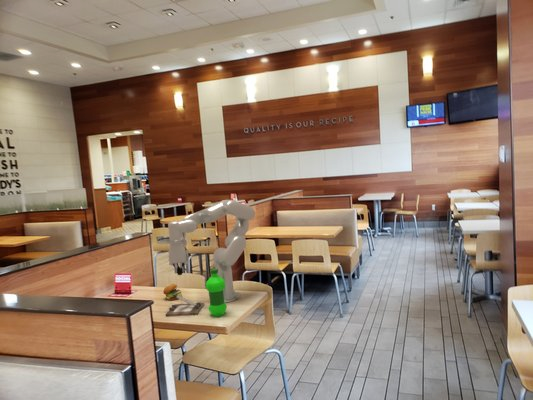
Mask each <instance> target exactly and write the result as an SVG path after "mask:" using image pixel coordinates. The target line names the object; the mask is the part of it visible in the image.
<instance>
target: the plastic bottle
mask: <svg viewBox="0 0 533 400" xmlns="http://www.w3.org/2000/svg"><path fill="white" fill-rule="evenodd" d="M209 272H210V275H211V276H210V277H209V278H208V279H207V281H206V282H205V289H206V291H207V292H208V297H209V306H208V311H209V313H210V314H212V315H213V316H214V317H221V316H223V315H224V314H225V312H226V311H227V307H228V306H227V303H225V302H224V291H223V289H224V287H225V281H224V279H222V278H221V277H219V276H218V274H217V273H218V269H215V268H211V269H210V270H209Z"/></svg>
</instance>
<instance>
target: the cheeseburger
mask: <svg viewBox="0 0 533 400" xmlns="http://www.w3.org/2000/svg"><path fill="white" fill-rule="evenodd" d="M177 287H178V285H177V284H176V283H175V284H174V283H172V284H170V285H168V286H166V287H164V289H163V294H164V295H165V298H166V300H168V301H174V300H179V299H178V298H176V297H174V295H175V294H177V295H179V296H181V297H183V294H182V290H181V289H177Z"/></svg>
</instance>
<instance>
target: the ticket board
mask: <svg viewBox="0 0 533 400" xmlns="http://www.w3.org/2000/svg"><path fill="white" fill-rule="evenodd" d="M194 303H195V304H197V305H195V307H194V306H192V305H190V304H188V303H175V304H171V307H169V308H168V310H167V312H166V313H165V314H164V315H165V318H166V317H184V316H198V314H199V313H200V312H201V310H202V309H203V307H204V306H205V302H200V301H198V302H194Z"/></svg>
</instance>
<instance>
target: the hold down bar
mask: <svg viewBox="0 0 533 400" xmlns="http://www.w3.org/2000/svg"><path fill="white" fill-rule="evenodd" d="M174 297H176V298H178V299H177V300H180V301H183V302H185V304H190V305H192V306H194V307H195V305H197V304H195V303H196V302H193V301H190V300H189V299H187V298H184V297H183V296H182V297H181V296H179V295H177V294H175V295H174Z"/></svg>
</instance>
